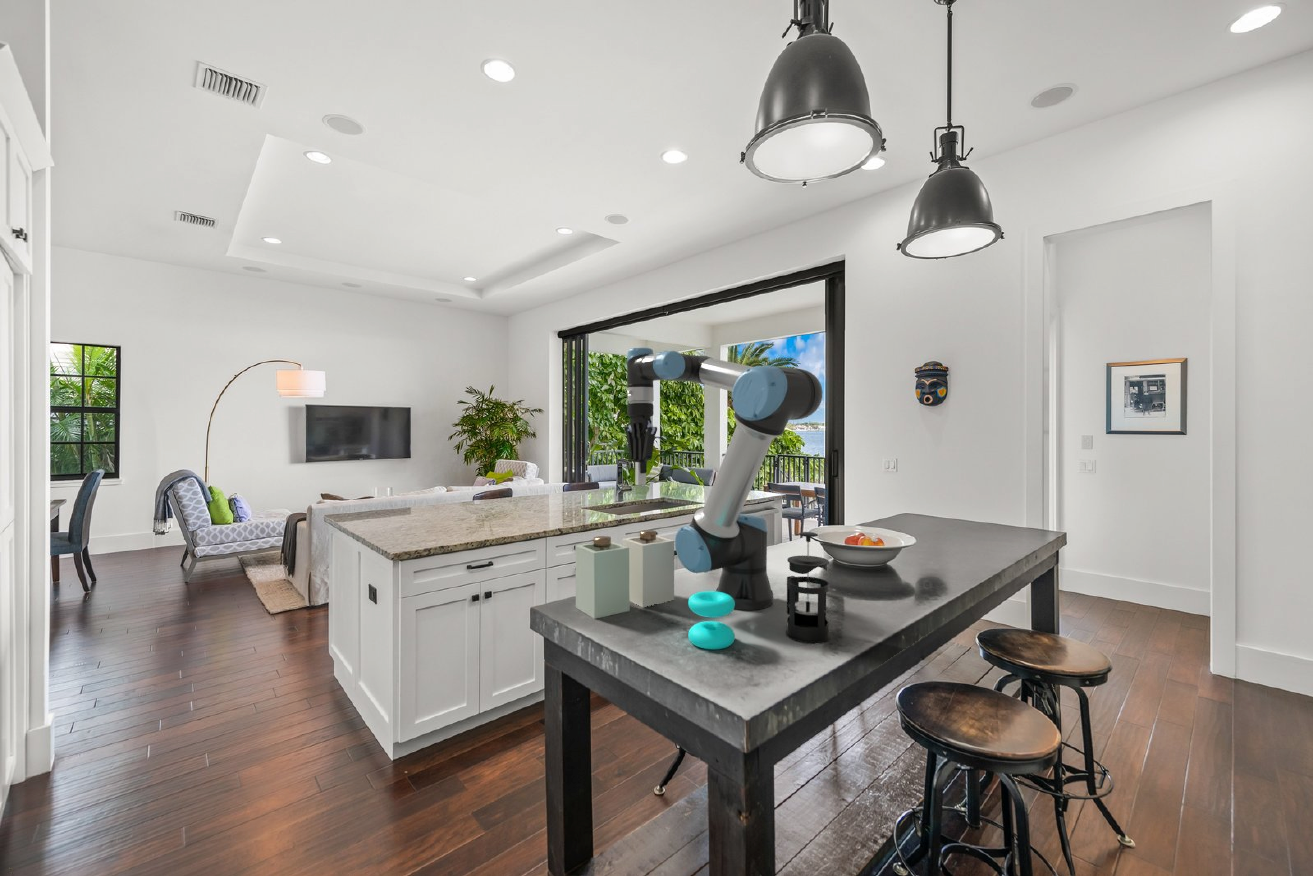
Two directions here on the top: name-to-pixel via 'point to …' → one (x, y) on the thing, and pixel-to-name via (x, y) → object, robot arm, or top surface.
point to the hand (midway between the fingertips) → (640, 484)
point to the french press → (806, 615)
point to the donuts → (711, 631)
